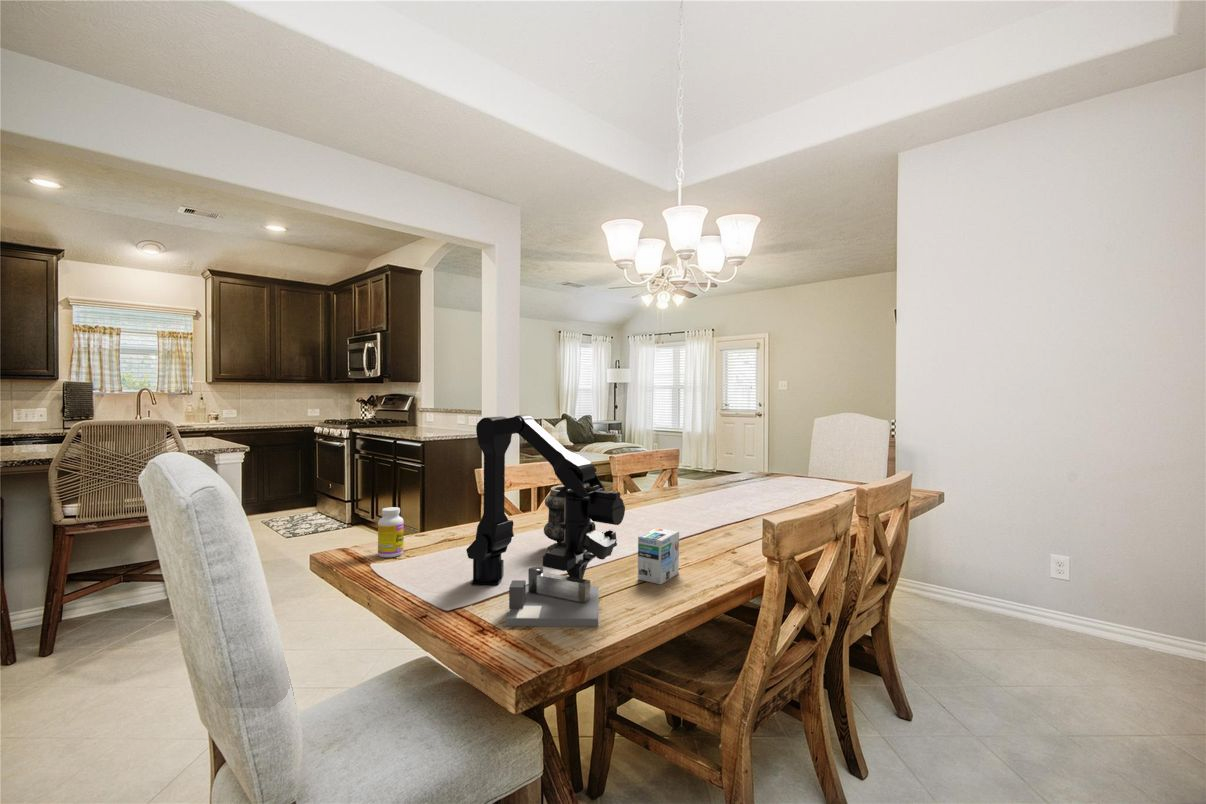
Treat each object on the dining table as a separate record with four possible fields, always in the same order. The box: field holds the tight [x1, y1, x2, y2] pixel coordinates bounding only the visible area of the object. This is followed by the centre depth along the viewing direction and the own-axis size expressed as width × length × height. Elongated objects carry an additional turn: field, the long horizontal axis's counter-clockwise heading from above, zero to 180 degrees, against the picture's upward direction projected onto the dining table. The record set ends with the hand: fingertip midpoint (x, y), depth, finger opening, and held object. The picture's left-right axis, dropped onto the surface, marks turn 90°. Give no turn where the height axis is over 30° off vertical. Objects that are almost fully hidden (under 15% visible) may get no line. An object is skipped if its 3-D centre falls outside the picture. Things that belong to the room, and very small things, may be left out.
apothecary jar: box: [543, 485, 566, 552], centre depth 157 cm, size 12×12×18 cm
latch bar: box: [527, 566, 591, 603], centre depth 118 cm, size 15×3×5 cm, turn 64°
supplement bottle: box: [377, 506, 405, 559], centre depth 151 cm, size 7×7×13 cm
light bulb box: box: [637, 527, 680, 585], centre depth 136 cm, size 11×7×11 cm, turn 148°
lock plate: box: [506, 579, 600, 627], centre depth 115 cm, size 18×18×6 cm
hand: (577, 588), depth 119 cm, fingers closed
